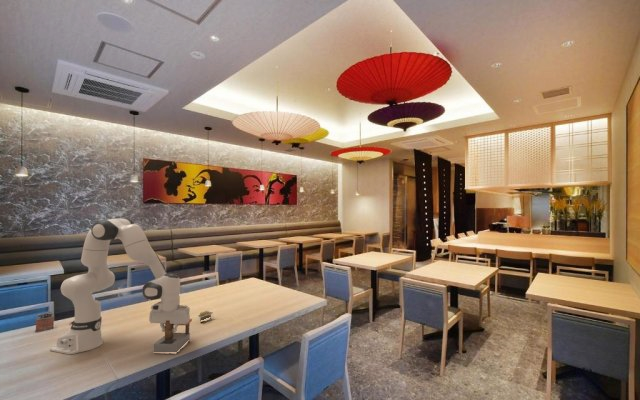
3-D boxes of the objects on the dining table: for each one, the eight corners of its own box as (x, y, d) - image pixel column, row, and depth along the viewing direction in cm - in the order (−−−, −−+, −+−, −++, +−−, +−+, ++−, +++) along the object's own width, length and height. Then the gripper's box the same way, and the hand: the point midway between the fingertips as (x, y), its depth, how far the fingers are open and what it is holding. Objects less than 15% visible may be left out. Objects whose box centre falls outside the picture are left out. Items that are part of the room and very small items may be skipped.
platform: (186, 324, 187) (187, 313, 188) (210, 315, 202) (210, 306, 203) (198, 328, 181) (198, 317, 181) (221, 319, 196) (222, 309, 196)
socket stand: (153, 353, 148) (154, 329, 148) (170, 339, 164) (171, 318, 164) (176, 354, 147) (177, 330, 148) (191, 340, 163) (192, 318, 164)
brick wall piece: (53, 327, 177) (54, 310, 177) (53, 328, 174) (54, 312, 175) (35, 330, 171) (36, 313, 172) (35, 332, 169) (36, 315, 169)
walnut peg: (167, 336, 153) (168, 317, 154) (174, 336, 153) (175, 318, 153) (163, 340, 149) (163, 320, 150) (170, 340, 149) (171, 320, 149)
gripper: (192, 303, 155) (191, 329, 154) (155, 302, 155) (154, 328, 155) (186, 307, 148) (185, 334, 148) (148, 306, 149) (146, 333, 149)
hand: (169, 331), depth 151 cm, fingers closed on walnut peg, 4 cm apart
